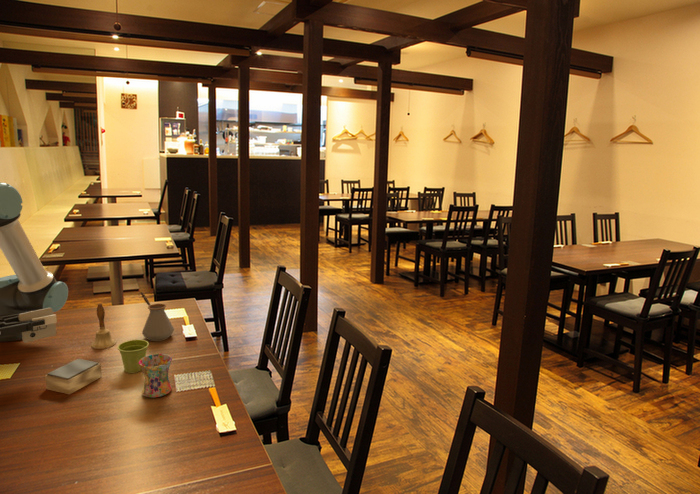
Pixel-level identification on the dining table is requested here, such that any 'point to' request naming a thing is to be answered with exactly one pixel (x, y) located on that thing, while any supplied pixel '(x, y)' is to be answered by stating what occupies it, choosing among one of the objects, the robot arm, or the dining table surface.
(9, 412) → the dining table surface
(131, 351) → the plant pot
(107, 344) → the hand bell
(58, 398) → the dining table surface
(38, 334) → the electrical switch
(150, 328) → the coffee pot
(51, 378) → the birch stand
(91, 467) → the dining table surface
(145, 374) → the mug
